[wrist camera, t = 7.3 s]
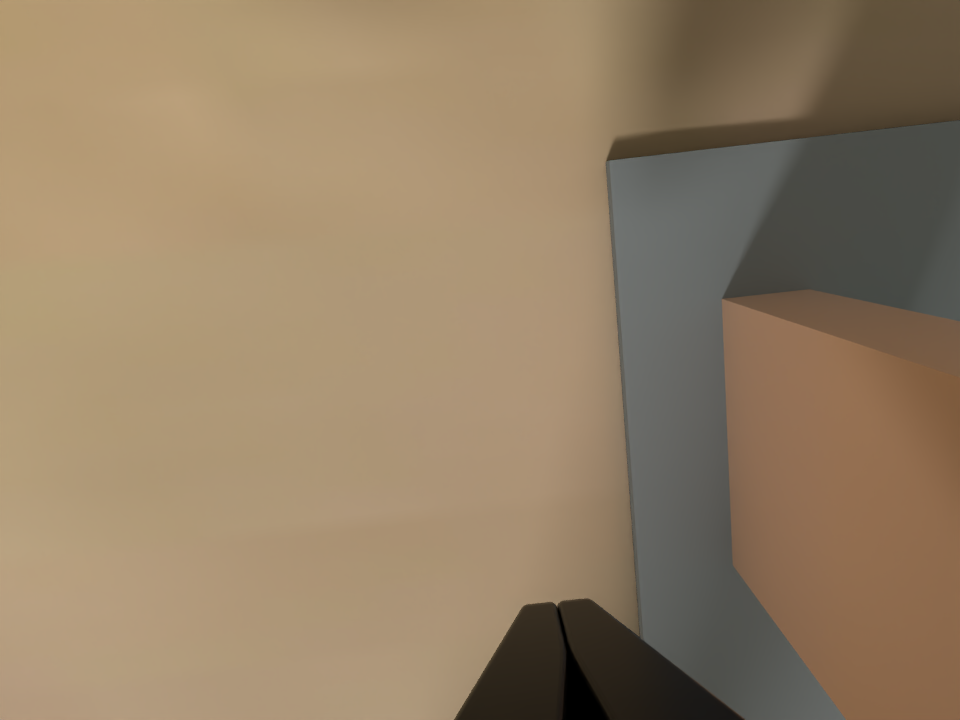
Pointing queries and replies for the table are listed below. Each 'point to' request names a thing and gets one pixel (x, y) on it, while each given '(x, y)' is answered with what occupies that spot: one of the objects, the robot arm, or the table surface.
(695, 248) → the slate mat
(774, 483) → the tile
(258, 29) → the table surface
